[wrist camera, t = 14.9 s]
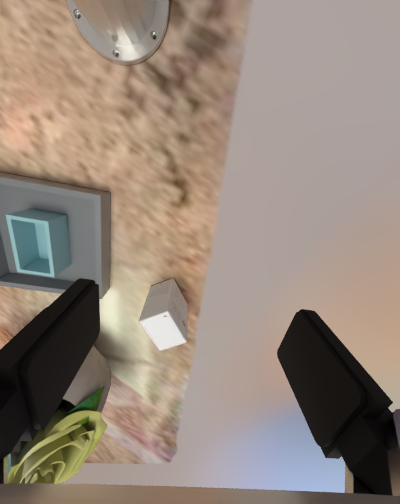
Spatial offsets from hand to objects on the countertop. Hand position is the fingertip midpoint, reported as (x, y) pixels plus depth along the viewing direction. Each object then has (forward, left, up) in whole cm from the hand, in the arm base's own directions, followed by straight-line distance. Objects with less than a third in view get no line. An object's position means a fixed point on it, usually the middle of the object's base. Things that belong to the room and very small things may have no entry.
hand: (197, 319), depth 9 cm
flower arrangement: (+40, -22, -28) cm, 54 cm away
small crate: (+10, -25, -27) cm, 38 cm away
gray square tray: (+10, -25, -28) cm, 39 cm away
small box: (+20, -2, -29) cm, 35 cm away
